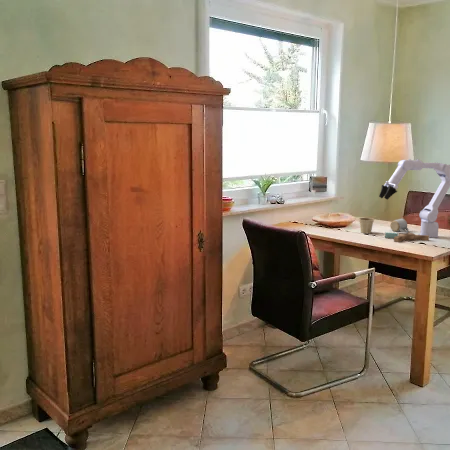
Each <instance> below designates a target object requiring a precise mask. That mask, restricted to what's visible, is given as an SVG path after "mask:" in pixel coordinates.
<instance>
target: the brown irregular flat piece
mask: <svg viewBox="0 0 450 450" xmlns="http://www.w3.org/2000/svg"><path fill="white" fill-rule="evenodd" d="M405 233H406V232H405ZM429 239H430V237H429V235H417V234H415V233H413V232H408V234H403V233H398V236H396V237H394V238H393V242H395V243H400V242H403V241H410V242H411V241H424V242H425V241H426V242H427V241H428V242H429V241H430V240H429Z"/></svg>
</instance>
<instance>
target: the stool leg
mask: <svg viewBox="0 0 450 450" xmlns="http://www.w3.org/2000/svg"><path fill="white" fill-rule="evenodd" d="M399 233H403V234H408V233H409V231H408V232H406V233H405V232H401V231H398V232H388V231H387V232H386V231H385V234H384V238H386V239H387V238H388V239H394V237H396V236H398V234H399Z"/></svg>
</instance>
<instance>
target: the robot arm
mask: <svg viewBox="0 0 450 450" xmlns="http://www.w3.org/2000/svg"><path fill="white" fill-rule="evenodd" d="M422 169H433V171H435V172H436V175H438V177H439V178H440V180H441V182H440V184H439V186H438V187H437V189H436V191H435V192H434V194H433V196H432V198H431V200H430V201H429V203H428V204H427V205H426V206H424V208H423V209H422V210H420V211H419V215H418V216H419V218H420V221H421V222H420V233H417V234H416V235H429V238H439V230H440V229H439V226H440V225H439V223H438V221H437V219H438V215H439V207H440V205H441V203H442V201H443V200H444V198H445V196H446V194H447V192H448V191H449V189H450V164H447V163H442V162H423V161H422V160H420V158H417V159H415V160H414V159H411V158H409V159H401V160H399V161H398V162H397V167H396V168H395V170H394V172H393V174H392V175H391V176H390V178H389V179H388V180H386V181H385V183H384V184H381V189H380V192H379V194H378V197H379V198H380V199H383V198H384V199H385V200H389V199H390V198H391V197H392V196H393V195H394V194H397V192H398V188H399V186H398V185H399V184H400V183H401V181H402V180H403V178H404V176H405V175H406V173H407V172H408V171H421V170H422Z"/></svg>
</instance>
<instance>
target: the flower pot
mask: <svg viewBox="0 0 450 450" xmlns="http://www.w3.org/2000/svg"><path fill="white" fill-rule="evenodd" d="M358 220H359V228H360V233H361V234H371V233H372V230H373V225H374V224H373V223H374V221H375V219H374V218H373V217H372V218H371V217H359V218H358Z"/></svg>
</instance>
